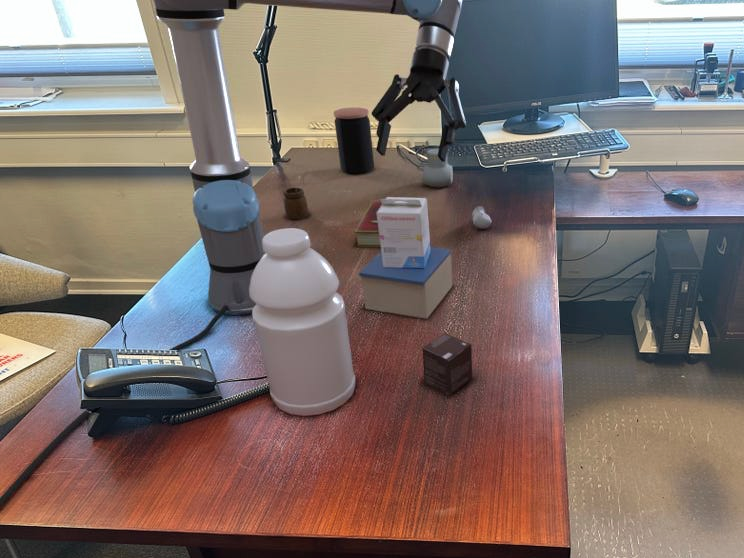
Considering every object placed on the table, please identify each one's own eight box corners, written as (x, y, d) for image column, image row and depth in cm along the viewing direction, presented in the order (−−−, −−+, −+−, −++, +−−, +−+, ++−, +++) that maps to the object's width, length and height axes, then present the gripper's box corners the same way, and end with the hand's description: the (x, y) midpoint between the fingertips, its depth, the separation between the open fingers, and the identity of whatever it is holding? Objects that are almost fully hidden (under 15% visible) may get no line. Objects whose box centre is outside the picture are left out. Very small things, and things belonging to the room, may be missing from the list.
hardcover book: (417, 215, 174) (416, 200, 171) (405, 247, 156) (403, 231, 154) (373, 214, 175) (372, 199, 172) (356, 246, 157) (354, 230, 155)
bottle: (303, 361, 116) (274, 212, 100) (371, 377, 112) (352, 224, 96) (254, 406, 105) (213, 248, 89) (326, 426, 101) (297, 263, 85)
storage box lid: (423, 285, 123) (423, 282, 123) (359, 276, 127) (358, 272, 126) (451, 252, 135) (451, 249, 135) (391, 245, 139) (391, 241, 138)
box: (447, 367, 114) (445, 331, 110) (473, 379, 111) (472, 343, 107) (423, 383, 110) (421, 347, 106) (449, 396, 107) (448, 359, 103)
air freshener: (426, 178, 199) (424, 145, 193) (453, 178, 199) (452, 145, 193) (422, 190, 190) (420, 156, 184) (450, 190, 190) (449, 156, 184)
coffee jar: (381, 168, 208) (375, 109, 198) (359, 177, 200) (352, 117, 190) (356, 163, 213) (349, 105, 202) (333, 171, 205) (325, 112, 195)
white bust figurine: (489, 235, 165) (470, 230, 164) (488, 222, 172) (469, 217, 171) (495, 220, 163) (475, 214, 162) (493, 207, 169) (474, 202, 168)
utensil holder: (310, 218, 173) (303, 173, 166) (286, 221, 171) (278, 176, 164) (307, 210, 177) (300, 167, 171) (283, 213, 176) (275, 170, 169)
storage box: (427, 318, 128) (424, 283, 124) (365, 308, 132) (361, 274, 127) (452, 286, 140) (451, 253, 135) (394, 277, 143) (391, 245, 139)
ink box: (431, 251, 134) (428, 188, 126) (424, 269, 127) (420, 204, 119) (391, 250, 135) (385, 187, 127) (381, 268, 128) (375, 202, 120)
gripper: (493, 69, 132) (472, 168, 131) (384, 63, 140) (364, 157, 138) (484, 48, 125) (462, 153, 124) (369, 43, 132) (347, 142, 131)
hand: (410, 156), depth 131 cm, fingers open, 13 cm apart
